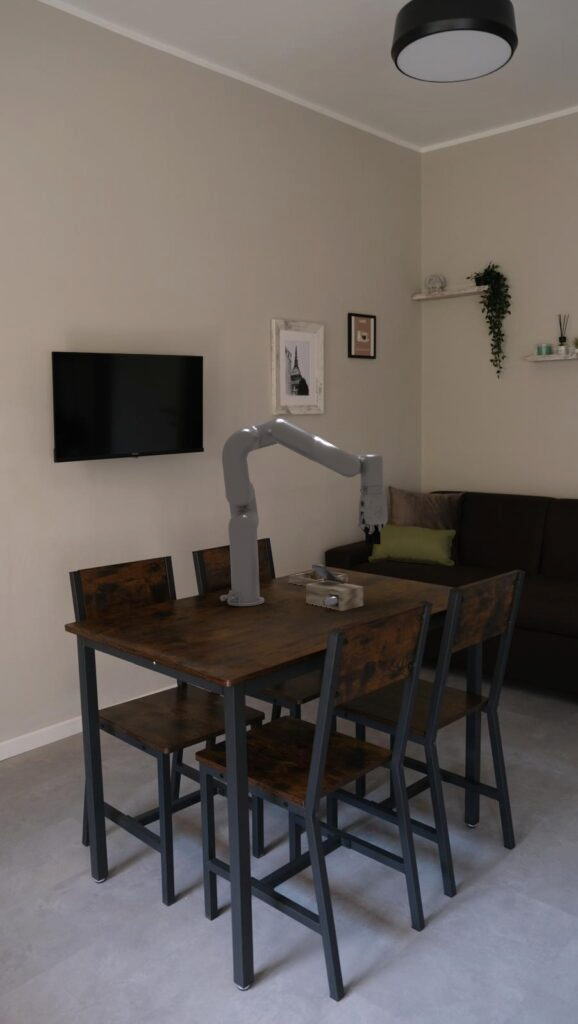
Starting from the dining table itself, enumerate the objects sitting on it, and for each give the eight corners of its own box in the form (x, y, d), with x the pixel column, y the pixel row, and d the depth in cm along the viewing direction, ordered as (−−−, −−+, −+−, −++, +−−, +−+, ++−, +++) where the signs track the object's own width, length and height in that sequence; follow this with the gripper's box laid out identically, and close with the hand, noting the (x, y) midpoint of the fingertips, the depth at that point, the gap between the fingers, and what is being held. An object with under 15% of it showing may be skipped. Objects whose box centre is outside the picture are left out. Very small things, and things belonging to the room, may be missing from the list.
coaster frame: (316, 588, 305) (316, 580, 305) (288, 583, 316) (288, 575, 316) (347, 582, 316) (347, 574, 315) (319, 577, 327) (319, 569, 327)
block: (342, 611, 269) (341, 587, 268) (306, 603, 282) (305, 581, 281) (363, 605, 276) (363, 583, 275) (327, 598, 288) (327, 576, 287)
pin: (330, 610, 267) (330, 596, 267) (321, 608, 270) (320, 594, 270) (363, 602, 277) (362, 589, 277) (353, 600, 280) (353, 587, 280)
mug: (332, 586, 311) (318, 563, 311) (316, 594, 317) (302, 572, 318) (343, 578, 316) (330, 555, 316) (327, 586, 323) (313, 564, 323)
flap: (325, 568, 275) (327, 566, 276) (311, 566, 281) (312, 564, 281) (341, 583, 281) (342, 581, 281) (326, 580, 286) (327, 578, 286)
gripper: (363, 493, 272) (364, 548, 274) (396, 489, 282) (397, 542, 285) (347, 492, 277) (348, 546, 279) (380, 488, 288) (380, 540, 290)
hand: (373, 544), depth 282 cm, fingers open, 2 cm apart
